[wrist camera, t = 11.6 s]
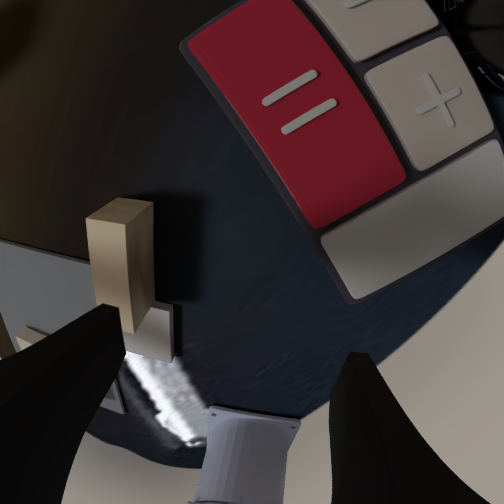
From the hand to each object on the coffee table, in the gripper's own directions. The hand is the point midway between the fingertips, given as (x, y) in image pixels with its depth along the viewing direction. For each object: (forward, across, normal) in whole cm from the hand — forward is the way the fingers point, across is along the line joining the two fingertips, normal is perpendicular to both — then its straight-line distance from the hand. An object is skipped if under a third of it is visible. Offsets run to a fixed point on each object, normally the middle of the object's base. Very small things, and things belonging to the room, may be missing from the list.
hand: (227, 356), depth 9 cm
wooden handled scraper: (+9, +7, +5) cm, 13 cm away
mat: (+9, +18, +13) cm, 24 cm away
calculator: (+10, -4, -8) cm, 13 cm away
